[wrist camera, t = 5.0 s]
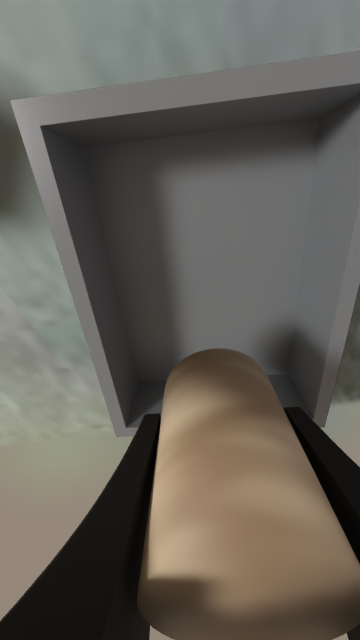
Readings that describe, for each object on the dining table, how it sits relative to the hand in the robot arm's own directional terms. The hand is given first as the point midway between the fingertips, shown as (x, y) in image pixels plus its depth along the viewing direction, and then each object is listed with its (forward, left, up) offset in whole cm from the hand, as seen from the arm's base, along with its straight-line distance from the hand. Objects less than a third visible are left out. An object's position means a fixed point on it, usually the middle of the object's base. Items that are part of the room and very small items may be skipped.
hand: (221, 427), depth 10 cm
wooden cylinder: (0, 0, -2) cm, 2 cm away
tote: (0, -4, -9) cm, 10 cm away
